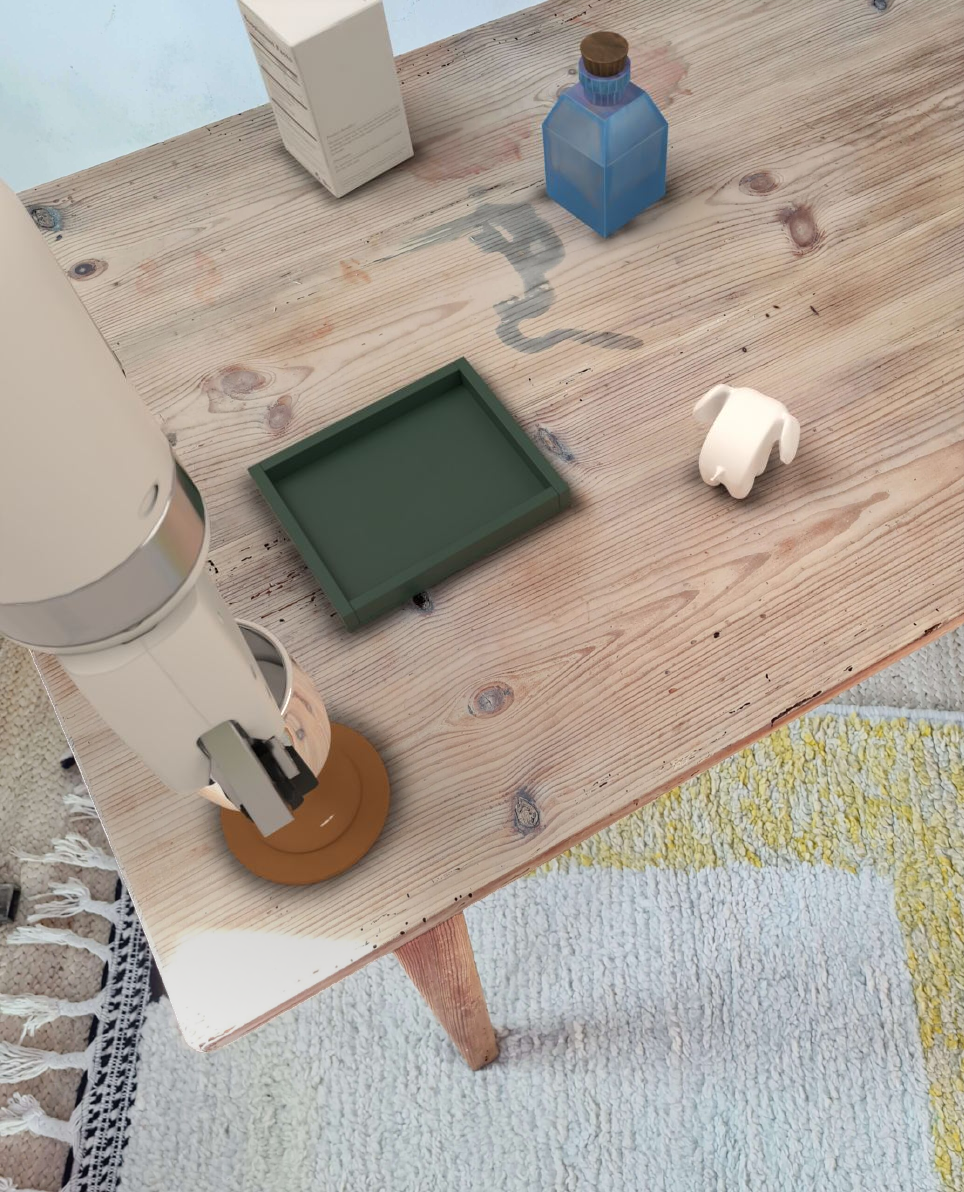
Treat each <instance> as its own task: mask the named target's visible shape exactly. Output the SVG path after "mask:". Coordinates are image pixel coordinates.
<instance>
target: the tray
mask: <svg viewBox="0 0 964 1192" xmlns="http://www.w3.org/2000/svg"><path fill="white" fill-rule="evenodd" d="M246 471H247V472H248V474H249V476H250V478H251V479H252V481H253V484H254V485H255V487H256V489H257V490H258V492H259V494H260V495H261V496H262V499H263V500H264V501H265V503H266V504H267V506H268V507H269V509H270V510H271V512H272V514H273V515H274V517H275V519H276V520H277V522H278V523H279V525H280V526H281V528H282V530H283V532H284V533H285V534H286V536H287V538H288V539H289V541H290V542H291V544H292V545H293V547H294V548H295V550H296V551H297V553H298V555H299V556H300V558H301V560H302V561H303V562H304V564H305V566H306V568H307V569H308V571H309V572H310V573H311V575H312V577H313V578H314V580H315V581H316V583H317V584H318V586H319V588H320V589H321V591H322V593H323V595H324V596H325V597H326V599H327V600H328V602H329V603H330V605H331V607H332V608H333V610H334V612H335V613H336V614H337V616H338V618H339V619H340V621H341V622H342V624H343V625H344V627H345V629H346V630H347V632H348V633H349V634H351V633H353V632H355V631H356V630H359V629H360V628H362V627H363V626H365V625H367V624H368V623H370V622H372V621H374V620H375V619H377V618H379V617H381V616H383V615H385V614H386V613H388V612H389V611H391V610H393V609H395V608H396V607H398V606H400V605H401V604H403V603H405V602H407V601H408V600H410V599H412V598H414V597H415V596H417V595H419V594H421V593H422V592H424V591H426V590H428V589H429V588H431V587H433V586H435V585H436V584H438V583H439V582H442V581H443V580H445V579H446V578H448V577H450V576H452V575H453V574H455V573H457V572H459V571H461V570H462V569H464V568H466V567H467V566H469V565H471V564H473V563H474V562H476V561H478V560H480V559H481V558H483V557H485V556H486V555H488V554H490V553H492V552H494V551H495V550H497V549H499V548H500V547H502V546H503V545H506V544H507V543H509V542H511V541H512V540H514V539H516V538H517V537H519V536H522V535H523V534H525V533H526V532H528V531H530V530H532V529H533V528H535V527H537V526H539V525H540V524H542V523H544V522H545V521H548V520H549V519H551V518H552V517H554V516H556V515H557V514H559V513H561V512H563V511H565V510H566V509H568V508H570V507H571V505H572V504H571V503H572V501H571V488H570V487H569V485H568V484H567V483H566V481H565V480H564V479H563V478H562V476H561V475H560V474H559V473H558V472H557V471H556V469H555V468H554V467H553V465H552V464H551V463H550V461H548V459H547V457H545V455H544V454H543V453H542V452H541V450H539V448H538V447H537V446H536V444H535V443H534V442H533V440H532V439H531V438H530V436H528V434H527V433H526V432H525V430H524V429H523V428H522V427H521V425H520V424H519V423H518V421H516V419H515V418H514V417H513V415H512V414H511V413H510V411H508V409H507V408H506V407H505V406H504V404H503V403H502V401H500V399H499V398H498V397H497V396H496V394H495V393H494V392H493V391H492V389H491V388H490V387H489V385H488V384H487V382H485V381H484V380H483V378H482V377H481V376H480V374H479V373H478V372H477V370H475V368H474V367H473V366H472V365H471V363H470V362H469V361H468V359H467V358H466V357H465V356H464V355H463V356H461V357H459V358H457V359H455V360H454V361H450V363H447V364H445V365H444V366H441V367H440V368H437V369H436V370H434V371H432V372H430V373H428V374H426V375H424V376H423V377H421V378H419V379H417V380H415V381H413V382H411V383H409V384H407V385H405V386H403V387H401V388H399V389H397V390H395V391H394V392H392V393H390V394H387V395H386V396H384V397H382V398H380V399H378V400H376V401H374V402H372V403H370V404H368V405H366V406H365V407H363V408H360V409H359V410H356V411H354V412H353V413H351V414H349V415H347V416H345V417H344V418H341V419H340V420H338V421H336V422H334V423H332V424H329V425H327V426H326V427H324V428H322V429H320V430H318V431H316V432H314V433H313V434H311V435H309V436H306V437H305V438H303V439H301V440H299V441H297V442H295V443H294V444H291V445H289V446H288V447H285V448H284V449H282V450H280V451H278V452H276V453H274V454H272V455H270V456H269V457H266V458H264V459H263V460H261V461H258V462H257V463H255V464H253V465H251V466H249V467H247V468H246Z"/></svg>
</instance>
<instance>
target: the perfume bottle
mask: <svg viewBox="0 0 964 1192" xmlns="http://www.w3.org/2000/svg"><path fill="white" fill-rule="evenodd" d="M579 50H580V54H581V56H580V58H579V60H578V67H577V69H578V81H577V83H575V84H574V85H572V86H571V87H569V88H567V89H566V90H564V91H563V92H562V93H561V95H560V96H559V98H558V99H557V101H556V102H555V103H554V105H553V106H552V108H551V109H550V111H549V113H548V114H547V116H546V117H545V118H544V120H543V121H542V123H541V132H542V133H541V134H542V147H543V161H544V175H545V189H546V190H545V191H546V197H548V198H549V199H551V200H552V201H553V202H555V204H558V205H559V206H560V207H562V208H563V210H565V211H567V212H568V213H570V214H571V215H573V216H574V217H575V218H576V219H578V220H579V221H581V222H582V223H583V224H584V225H586V226H587V227H589V228H590V229H592V230H593V231H594V232H596V233H597V234H598V235H599V236H601V237H602V238H604V239H607V238H608V237H609V236H611V235H612V234H614V233H615V232H616V231H618V230H619V229H620V228H622V227H623V226H625V225H626V224H627V223H628V222H630V221H631V220H633V219H635V218H636V217H637V216H638V215H640V214H641V213H642V212H644V211H645V210H647V209H648V208H650V207H651V206H652V205H654V204H655V203H657V202H658V201H659V200H660V199H662V198H663V197H664V196H666V179H667V162H668V161H667V160H668V157H667V156H668V140H669V122H668V120H667V119H666V118H665V116H664V115H663V113H662V112H661V111H660V109H659V108H658V107H657V105H656V103H655V102H654V100H653V99H652V97H651V96H650V95H649V93H648V91H646V90H645V89H643V88H641V87H640V86H638V85H637V84H635V83H633V82H632V81H631V69H632V68H631V66H632V65H631V64H632V61H631V59H630V57H629V51H630V48H629V42H628V40H627V39H626V38H625V37H624V36H623V35H622V34H620V33H617V32H613V31H609V30H608V31H607V30H605V31H604V30H603V31H601V30H599V31H596V32H591V33H590V34H588V35H586V36H585V37H584V38H583V39H582V40H581V41H580V44H579Z"/></svg>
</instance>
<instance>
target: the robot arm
mask: <svg viewBox="0 0 964 1192" xmlns="http://www.w3.org/2000/svg"><path fill="white" fill-rule="evenodd" d="M211 541H212V521H211V515H210V510H209V508H208V505H207V503H206V499H205V498H204V495H203V494H202V492H201V491H200V489H199V487H198V486H197V484H196V483H195V481H194V480H193V478H192V476H191V474H190V473H189V471H188V470H187V468H186V466H185V465H184V463H183V462H182V460H181V458H180V456H179V455H178V453H177V452H176V450H175V448H174V447H173V445H172V444H171V442H170V440H169V439H168V437H167V435H166V434H165V432H164V430H163V429H162V428H161V426H160V425H159V423H158V422H157V421H156V419H155V417H154V416H153V413H152V412H151V410H150V409H149V407H148V405H147V403H146V402H145V401H144V399H143V397H142V395H141V394H140V392H139V390H138V389H137V387H136V385H135V384H134V382H133V381H132V379H131V377H130V376H129V374H128V373H127V371H126V369H125V368H124V366H123V364H122V363H121V361H120V360H119V358H118V357H117V354H116V353H115V352H114V349H112V347H111V345H110V344H109V342H108V340H107V339H106V337H105V336H104V333H103V332H102V330H101V329H100V327H99V326H98V324H97V323H96V321H95V319H94V318H93V316H92V314H91V313H90V311H89V309H88V307H87V306H86V305H85V303H84V301H83V300H82V298H81V296H80V294H79V292H78V291H77V290H76V288H75V286H74V284H73V282H72V281H71V280H70V278H69V277H68V275H67V274H66V272H65V270H64V268H63V267H62V265H61V264H60V262H59V260H58V258H57V257H56V255H55V253H54V252H53V251H52V248H51V247H50V246H49V244H48V242H47V241H46V239H45V237H44V235H43V234H42V233H41V231H40V229H39V227H38V226H37V224H36V223H35V221H34V219H33V218H32V216H31V214H30V213H29V212H28V210H27V208H26V207H25V205H24V204H23V202H22V201H21V199H20V198H19V197H18V195H17V194H16V192H14V190H13V189H12V188H11V186H9V185H8V184H7V183H6V182H5V181H4V180H3V179H2V178H1V177H0V635H1V636H2V637H3V638H5V639H6V640H8V641H9V642H11V643H13V644H15V645H17V646H18V647H19V646H20V647H22V648H25V649H27V650H30V651H33V652H38V653H43V654H48V655H53V657H54V658H55V659H56V661H57V662H58V664H59V665H60V666H61V668H62V669H63V671H64V672H65V674H66V675H67V676H68V677H69V679H70V681H71V682H72V683H73V684H74V685H75V687H76V688H77V690H78V691H79V692H80V694H81V695H82V696H83V697H84V698H85V700H86V701H87V702H88V703H89V705H90V706H91V707H92V708H93V709H94V711H95V712H96V713H97V714H98V715H99V716H100V718H101V719H102V720H103V721H104V722H105V724H106V725H107V726H108V727H109V728H110V729H111V730H112V731H113V733H115V734H116V736H117V737H118V738H119V739H120V740H121V741H122V742H123V743H124V744H125V745H126V746H127V748H129V749H130V750H131V752H132V753H133V754H135V756H136V757H137V758H138V759H139V760H140V761H141V762H142V763H143V764H144V765H145V766H146V767H147V768H148V769H149V770H150V771H151V772H152V773H153V774H154V775H155V777H157V778H158V779H159V780H160V781H161V783H163V784H164V785H165V787H167V788H168V789H169V791H172V792H174V793H176V794H178V795H183V796H190V795H192V794H194V793H197V792H196V791H198V790H200V789H202V788H204V787H206V786H207V785H208V784H209V780H210V773H211V775H212V776H213V777H214V779H215V780H216V781H217V783H218V784H219V785H220V787H221V789H222V791H223V792H224V794H225V796H226V798H227V799H228V800H229V801H231V802H232V803H233V804H234V806H235V807H236V808H237V809H238V810H240V811H241V812H242V813H243V814H244V815H245V816H246V817H247V818H248V819H249V820H250V821H251V822H253V823H255V824H256V826H257V827H258V829H259V830H260V832H261V833H262V834H263V836H264V837H267V836H268V835H270V834H272V833H273V832H275V831H276V830H278V829H280V828H281V827H283V826H285V825H286V824H288V823H289V822H291V821H293V820H294V819H295V818H294V814H293V811H294V810H295V809H297V808H298V807H299V806H300V805H301V804H302V803H303V802H304V798H303V796H304V795H305V794H307V793H309V792H310V791H312V790H313V789H315V788H316V787H317V786H318V784H319V782H318V780H317V779H316V777H315V775H314V773H313V772H312V771H311V769H310V768H309V767H308V766H307V764H306V763H305V762H304V760H303V759H302V758H301V756H300V755H299V754H298V752H297V751H296V750H295V749H294V747H293V746H292V745H291V746H283V744H282V743H281V741H280V740H281V738H282V736H283V733H284V729H285V721H284V719H283V717H282V715H281V712H280V710H279V708H278V706H277V704H276V702H275V699H274V697H273V695H272V693H271V691H270V689H269V687H268V685H267V683H266V681H265V679H264V677H263V674H262V672H261V670H260V668H259V666H258V664H257V662H256V660H255V658H254V656H253V654H252V652H251V650H250V648H249V646H248V644H247V642H246V640H245V638H244V636H243V634H242V633H241V631H240V629H239V627H238V625H237V623H236V621H235V619H234V618H235V617H234V615H233V614H232V612H231V610H230V608H229V607H228V604H227V603H226V601H225V599H224V597H223V596H222V594H221V592H220V591H219V588H218V587H217V585H216V583H215V582H214V580H213V579H212V577H211V575H210V574H209V571H207V569H206V567H205V565H206V561H207V560H208V558H209V557H208V556H209V551H210V547H211ZM234 720H236V721H237V723H235V721H234ZM260 741H262V742H263V744H264V745H265V747H266V748H267V750H268V751H269V752H268V753H266V754H264V755H263V756H261V757H259V758H258V757H257V756H256V754H255V753H254V751H253V749H252V748H251V747H252V746H254V745H255V744H257V743H259V742H260Z"/></svg>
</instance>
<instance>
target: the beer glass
mask: <svg viewBox="0 0 964 1192" xmlns="http://www.w3.org/2000/svg"><path fill="white" fill-rule="evenodd" d="M234 619H235V621H236V623H237V625H238V627H239V629H240V631H241V633H242V634H243V636H244V638H245V640H246V642H247V644H248V646H249V648H250V650H251V652H252V654H253V656H254V658H255V660H256V662H257V664H258V666H259V668H260V670H261V672H262V674H263V677H264V679H265V681H266V683H267V685H268V687H269V689H270V691H271V693H272V695H273V697H274V699H275V702H276V704H277V706H278V708H279V710H280V712H281V715H282V717H283V719H284V721H285V729H284V733H283V736H282V738H281V740H280V741H281V743H282V744H283V746H291V745H292V746H293V747H294V749H295V750H296V751H297V752H298V754H299V755H300V756H301V758H302V759H303V760H304V762H305V763H306V764H307V766H308V767H309V768H310V769H311V771H312V772H313V773H314V775H315V777H316V779H317V780H318V782H319V784H318V786H317V787H316V788H315V789H313V790H312V791H310V792H309V793H307V794H305V795H304V796H303V798H304V802H303V803H302V804H301V805H300V806H299V807H298V808H297V809H295V810H294V811H293V814H294V818H295V819H294V820H293V821H291V822H289V823H288V824H286V825H285V826H283V827H281V828H280V829H278V830H276V831H275V832H273V833H272V834H270V835H268V836H267V837H264V836H263V834H262V833H261V832H260V830H259V829H258V827H257V826H256V824H255V823H253V822H251V821H250V820H249V822H250V824H251V826H252V828H253V830H254V831H255V832H256V834H257V835H258V836H259V837H260V839H261V840H263V841H264V842H265V843H266V844H268V845H269V846H271V847H273V848H276V849H278V850H281V851H285V852H291V853H304V852H310V851H314V850H317V849H320V848H322V847H324V846H326V845H328V844H330V843H331V842H333V841H334V840H336V839H337V838H338V837H339V836H340V835H342V834H343V833H344V832H345V830H346V829H347V828H348V827H349V825H350V824H351V822H352V821H353V819H354V817H355V815H356V813H357V810H358V807H359V803H360V798H361V784H360V779H359V775H358V773H357V770H356V768H355V767H354V765H353V763H352V762H351V761H350V760H349V758H348V757H347V756H346V755H345V754H344V753H342V752H341V751H340V750H339V749H337V748H336V747H334V746H333V741H332V735H331V729H330V724H329V722H330V720H329V716H328V714H327V710H326V707H325V704H324V701H323V699H322V697H321V695H320V693H319V691H318V690H317V688H316V687H317V686H315V683H314V682H313V681H312V679H311V678H310V676H309V675H308V674H307V672H306V671H305V669H304V668H303V666H301V664H300V663H299V662H298V661H297V659H296V658H295V657H294V656H293V655H292V654H291V653H290V651H288V649H287V648H286V647H285V645H284V644H283V642H282V641H281V639H280V638H278V637H277V636H276V635H275V633H273V632H272V631H270V630H269V629H268V628H266V627H265V626H263V625H261V624H259V623H257V622H254V621H251V620H247V619H243V618H236V617H234ZM234 721H235V723H237V721H236V720H234ZM251 748H252V749H253V751H254V753H255V754H256V756H257V757H258V758H259V757H261V756H263V755H264V754H266V753H268V752H269V751H268V750H267V748H266V747H265V745H264V744H263V742H262V741H260V742H259V743H257V744H255V745H254V746H252V747H251ZM195 793H197V794H198V795H200V796H201V797H203V798H204V799H205V800H208V801H210V802H212V803H214V804H216V805H217V806H220V807H221V806H222V807H224V808H227V809H229V810H232V811H235V812H238V813H241V814H243V813H242V812H241V811H240V810H238V809H237V808H236V807H235V806H234V804H233V803H232V802H231V801H229V800H228V799H227V798H226V796H225V794H224V792H223V791H222V789H221V787H220V785H219V784H218V783H217V781H216V780H215V779H214V777H213V776H212V775H211V773H210V780H209V784H208V785H207V786H206V787H204V788H202V789H200V790H198V791H196V792H195Z"/></svg>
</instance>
